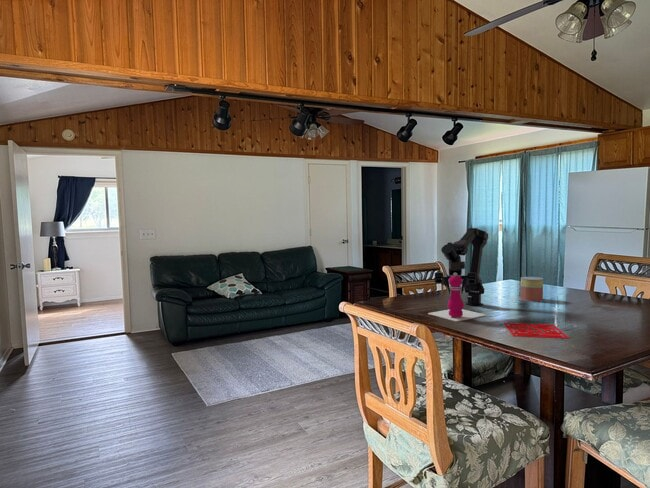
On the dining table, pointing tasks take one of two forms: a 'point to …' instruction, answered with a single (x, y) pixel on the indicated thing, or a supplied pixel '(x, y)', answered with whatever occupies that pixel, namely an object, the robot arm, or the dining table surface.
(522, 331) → the maze puzzle
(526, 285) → the canned food
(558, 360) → the dining table surface
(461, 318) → the grey mat
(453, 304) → the pepper mill
